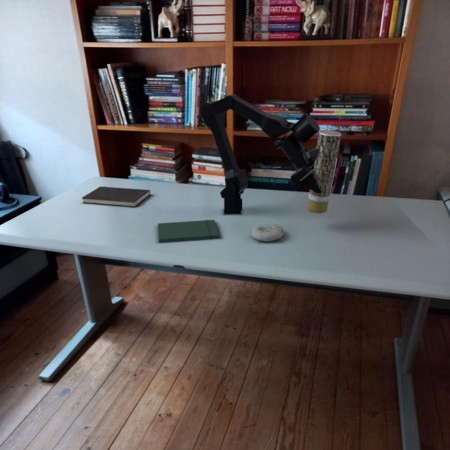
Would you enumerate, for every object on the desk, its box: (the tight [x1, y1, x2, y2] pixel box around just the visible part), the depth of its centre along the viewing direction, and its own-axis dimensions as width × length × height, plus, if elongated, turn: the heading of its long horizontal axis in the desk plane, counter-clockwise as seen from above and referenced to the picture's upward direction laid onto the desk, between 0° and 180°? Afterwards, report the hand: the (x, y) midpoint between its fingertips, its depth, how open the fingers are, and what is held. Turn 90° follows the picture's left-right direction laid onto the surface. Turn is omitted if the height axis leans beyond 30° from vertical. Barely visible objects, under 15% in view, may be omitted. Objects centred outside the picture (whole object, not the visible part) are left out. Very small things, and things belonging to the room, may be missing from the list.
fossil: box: [250, 224, 284, 242], centre depth 138 cm, size 11×4×10 cm
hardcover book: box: [81, 186, 151, 208], centre depth 173 cm, size 16×23×2 cm
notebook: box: [157, 219, 221, 243], centre depth 143 cm, size 20×14×1 cm
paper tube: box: [306, 129, 342, 214], centre depth 135 cm, size 7×7×25 cm
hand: (323, 190), depth 138 cm, fingers closed on paper tube, 6 cm apart
